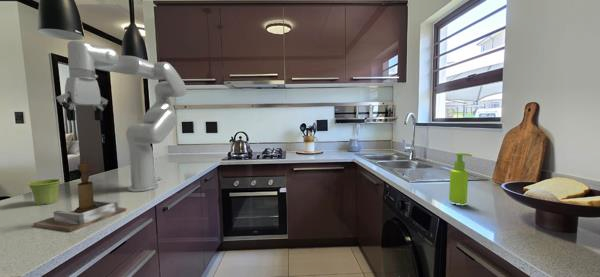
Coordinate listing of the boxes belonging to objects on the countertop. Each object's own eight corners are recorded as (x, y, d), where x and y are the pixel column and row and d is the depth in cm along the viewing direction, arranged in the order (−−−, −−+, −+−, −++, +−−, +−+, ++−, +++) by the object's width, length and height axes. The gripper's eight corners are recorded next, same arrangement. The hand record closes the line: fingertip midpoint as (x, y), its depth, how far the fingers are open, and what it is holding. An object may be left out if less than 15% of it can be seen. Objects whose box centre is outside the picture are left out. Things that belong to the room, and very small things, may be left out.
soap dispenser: (470, 207, 94) (473, 154, 93) (449, 204, 98) (451, 153, 96) (469, 202, 99) (471, 153, 98) (448, 200, 103) (450, 151, 101)
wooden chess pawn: (84, 219, 82) (80, 165, 80) (69, 218, 83) (64, 164, 81) (104, 212, 88) (101, 161, 87) (89, 210, 89) (86, 161, 88)
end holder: (93, 206, 96) (93, 196, 96) (126, 210, 92) (125, 200, 92) (33, 226, 79) (32, 213, 79) (70, 231, 75) (69, 218, 75)
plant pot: (68, 199, 106) (67, 179, 105) (44, 207, 97) (42, 185, 96) (49, 198, 107) (47, 178, 106) (22, 206, 97) (20, 184, 97)
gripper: (98, 79, 105) (101, 120, 106) (47, 72, 88) (51, 120, 89) (112, 78, 103) (114, 120, 104) (63, 70, 86) (66, 120, 88)
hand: (85, 120), depth 97 cm, fingers open, 9 cm apart
